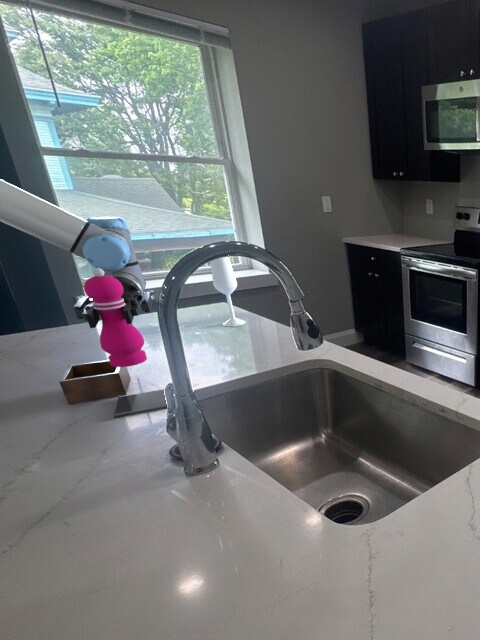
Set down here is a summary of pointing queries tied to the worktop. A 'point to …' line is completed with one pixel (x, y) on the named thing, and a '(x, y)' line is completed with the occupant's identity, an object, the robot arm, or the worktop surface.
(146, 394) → the slate coaster
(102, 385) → the mill caddy
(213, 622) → the worktop surface
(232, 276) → the champagne flute
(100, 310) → the pepper mill
